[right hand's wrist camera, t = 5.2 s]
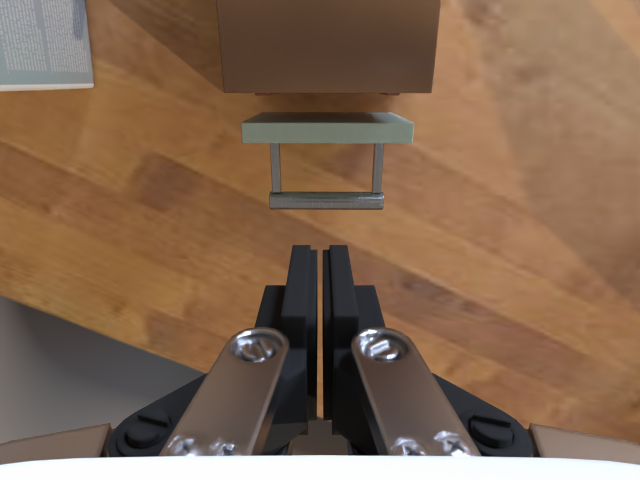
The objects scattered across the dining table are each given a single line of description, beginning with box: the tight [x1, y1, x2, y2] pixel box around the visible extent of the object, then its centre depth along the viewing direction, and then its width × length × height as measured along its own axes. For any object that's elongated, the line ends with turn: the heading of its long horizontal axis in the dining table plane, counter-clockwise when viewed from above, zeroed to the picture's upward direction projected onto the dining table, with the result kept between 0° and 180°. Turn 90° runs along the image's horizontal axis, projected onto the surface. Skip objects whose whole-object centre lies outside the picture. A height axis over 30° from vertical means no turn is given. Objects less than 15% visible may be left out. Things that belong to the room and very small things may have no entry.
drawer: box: [241, 93, 414, 210], centre depth 25 cm, size 24×10×8 cm, turn 0°
